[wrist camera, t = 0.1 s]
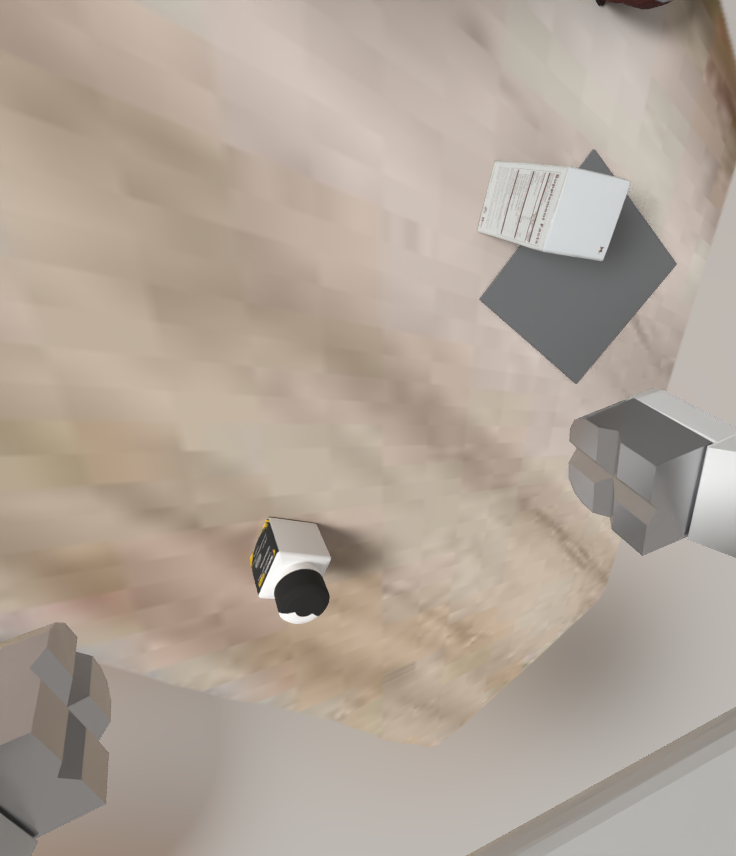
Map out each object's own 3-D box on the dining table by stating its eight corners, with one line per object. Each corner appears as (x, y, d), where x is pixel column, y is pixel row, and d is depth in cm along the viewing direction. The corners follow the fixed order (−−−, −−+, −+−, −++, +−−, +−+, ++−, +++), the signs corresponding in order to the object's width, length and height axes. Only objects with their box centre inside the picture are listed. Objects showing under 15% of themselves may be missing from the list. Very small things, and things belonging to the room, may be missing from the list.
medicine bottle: (266, 515, 68) (288, 582, 58) (317, 522, 71) (345, 587, 61) (248, 559, 70) (266, 630, 60) (297, 564, 73) (322, 632, 64)
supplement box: (549, 171, 59) (635, 180, 48) (528, 241, 62) (604, 264, 51) (493, 157, 56) (570, 163, 45) (474, 231, 59) (542, 253, 48)
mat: (479, 299, 63) (480, 300, 63) (593, 149, 59) (594, 149, 59) (574, 383, 76) (576, 384, 75) (674, 263, 71) (676, 264, 71)
